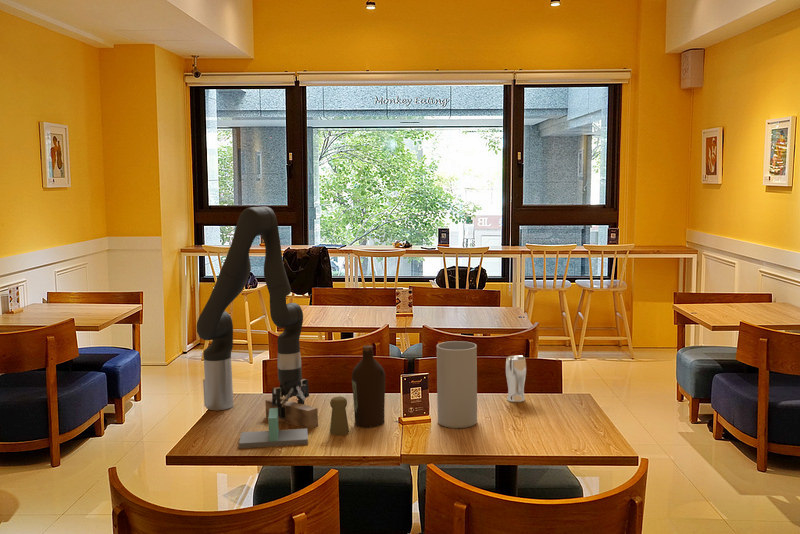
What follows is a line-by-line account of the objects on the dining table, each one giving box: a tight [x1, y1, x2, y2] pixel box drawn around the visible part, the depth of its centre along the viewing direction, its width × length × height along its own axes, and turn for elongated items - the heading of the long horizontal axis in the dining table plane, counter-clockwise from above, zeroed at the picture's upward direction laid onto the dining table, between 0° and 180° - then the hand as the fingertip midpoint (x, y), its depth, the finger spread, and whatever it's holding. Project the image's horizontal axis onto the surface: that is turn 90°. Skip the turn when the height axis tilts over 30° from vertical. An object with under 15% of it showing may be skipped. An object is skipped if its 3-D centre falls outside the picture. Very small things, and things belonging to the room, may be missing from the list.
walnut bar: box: [264, 397, 319, 430], centre depth 255 cm, size 20×4×6 cm, turn 51°
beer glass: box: [505, 355, 527, 403], centre depth 273 cm, size 7×7×15 cm
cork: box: [329, 396, 350, 436], centre depth 243 cm, size 6×6×11 cm
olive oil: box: [351, 344, 386, 428], centre depth 251 cm, size 11×11×25 cm
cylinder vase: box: [436, 340, 478, 429], centre depth 249 cm, size 12×12×25 cm
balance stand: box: [238, 408, 309, 449], centre depth 237 cm, size 20×10×8 cm, turn 97°
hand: (291, 414), depth 255 cm, fingers open, 8 cm apart
